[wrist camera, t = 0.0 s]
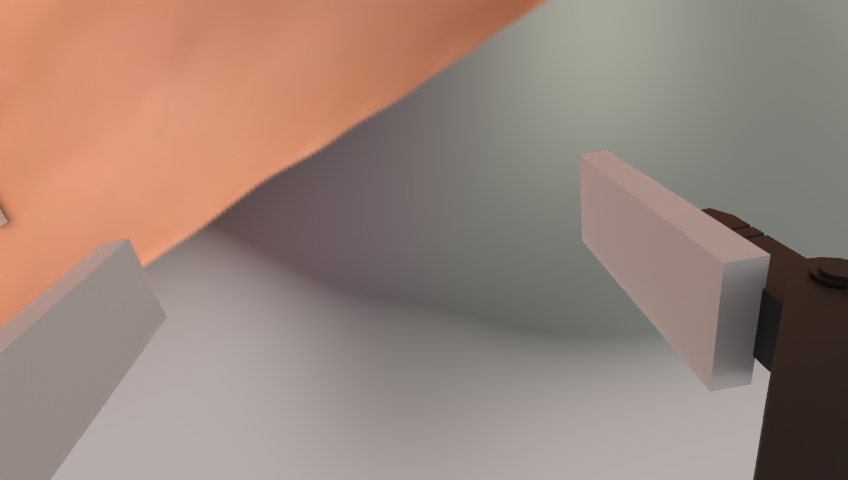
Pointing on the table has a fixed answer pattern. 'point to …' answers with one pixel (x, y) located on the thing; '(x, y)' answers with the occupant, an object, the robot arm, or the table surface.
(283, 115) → the table surface
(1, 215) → the stand
